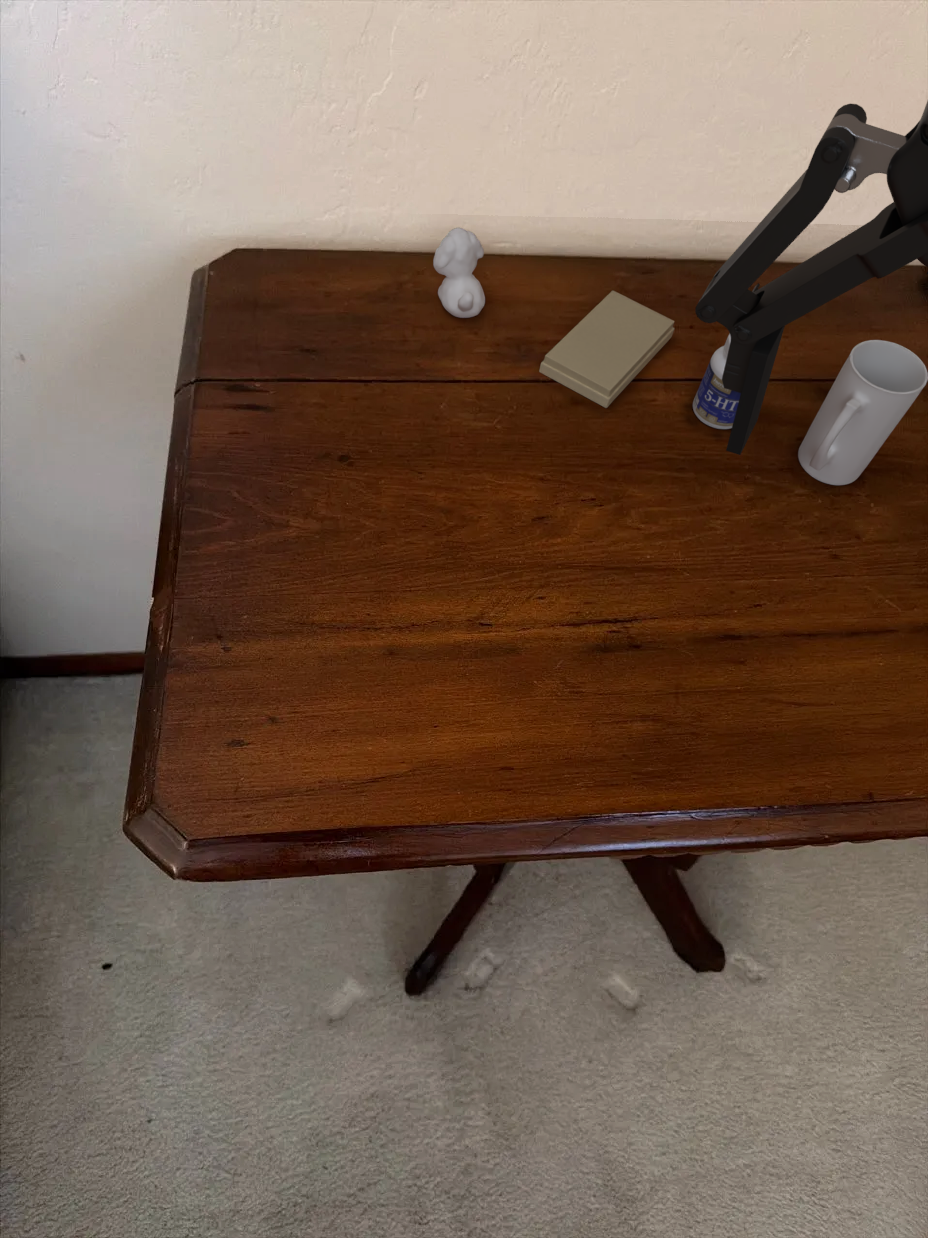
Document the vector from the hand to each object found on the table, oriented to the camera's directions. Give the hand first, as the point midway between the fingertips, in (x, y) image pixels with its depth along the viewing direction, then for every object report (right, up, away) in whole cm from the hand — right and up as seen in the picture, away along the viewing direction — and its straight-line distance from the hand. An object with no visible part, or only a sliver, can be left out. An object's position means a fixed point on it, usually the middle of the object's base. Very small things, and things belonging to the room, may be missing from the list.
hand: (874, 477), depth 44 cm
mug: (+14, +7, +41) cm, 44 cm away
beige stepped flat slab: (-6, +20, +48) cm, 52 cm away
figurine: (-21, +26, +50) cm, 60 cm away
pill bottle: (+5, +14, +44) cm, 47 cm away
